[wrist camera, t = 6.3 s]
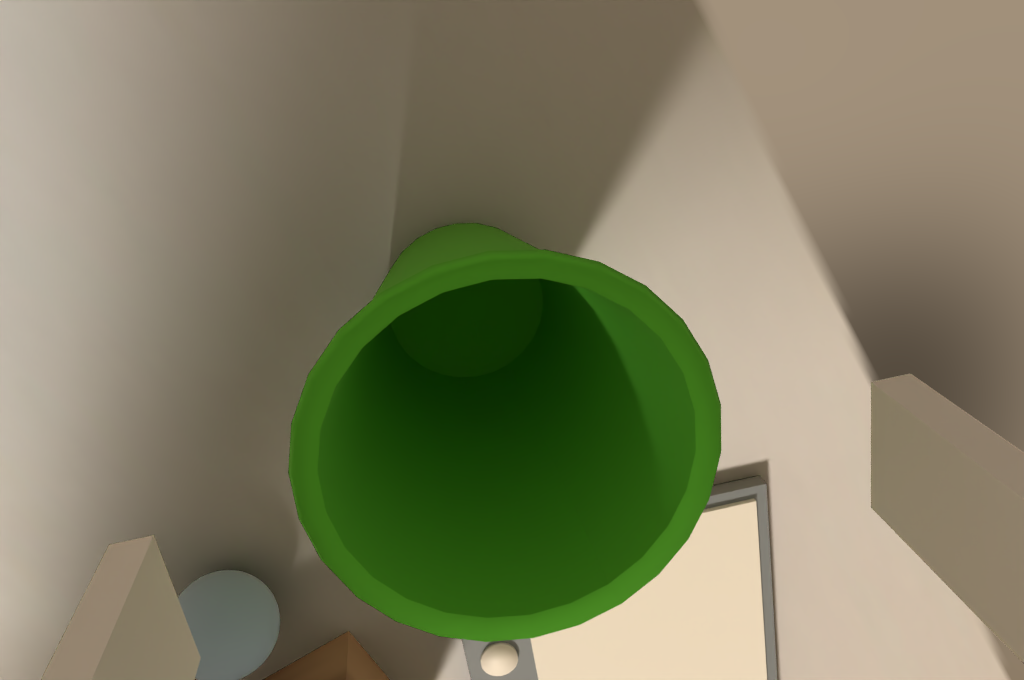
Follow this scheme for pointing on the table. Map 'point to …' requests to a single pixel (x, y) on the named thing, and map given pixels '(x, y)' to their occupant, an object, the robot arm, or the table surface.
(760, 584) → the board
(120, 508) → the table surface
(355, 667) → the walnut block
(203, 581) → the dusty blue ball
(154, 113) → the table surface
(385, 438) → the cup
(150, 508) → the table surface
